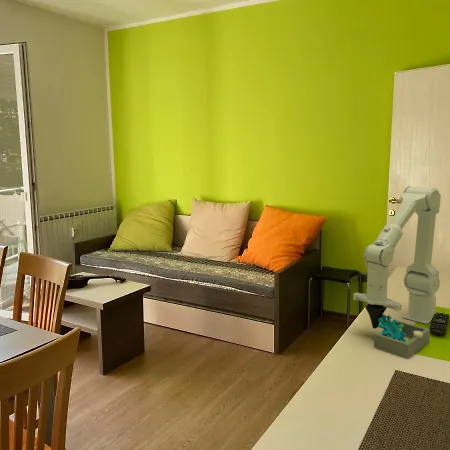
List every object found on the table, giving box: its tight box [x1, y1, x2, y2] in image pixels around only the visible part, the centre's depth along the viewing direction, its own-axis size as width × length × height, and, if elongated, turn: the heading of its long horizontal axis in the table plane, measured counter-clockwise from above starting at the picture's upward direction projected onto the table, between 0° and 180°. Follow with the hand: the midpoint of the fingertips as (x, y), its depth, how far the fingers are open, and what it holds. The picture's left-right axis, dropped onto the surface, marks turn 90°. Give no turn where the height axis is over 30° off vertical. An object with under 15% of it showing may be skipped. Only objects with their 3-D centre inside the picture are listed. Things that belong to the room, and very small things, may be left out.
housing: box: [373, 319, 431, 359], centre depth 131 cm, size 14×11×5 cm
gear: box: [378, 314, 407, 343], centre depth 134 cm, size 11×6×10 cm
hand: (375, 327), depth 137 cm, fingers closed
